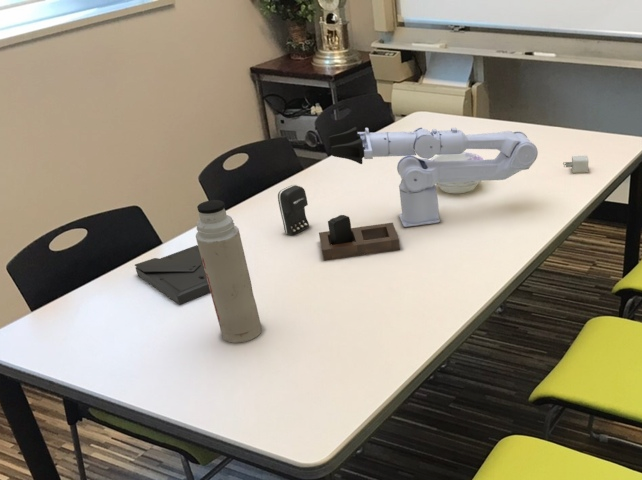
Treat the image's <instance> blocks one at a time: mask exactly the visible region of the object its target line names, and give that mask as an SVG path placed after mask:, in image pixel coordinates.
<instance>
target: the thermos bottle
mask: <svg viewBox="0 0 642 480" xmlns="http://www.w3.org/2000/svg"><path fill="white" fill-rule="evenodd" d="M225 208H226V203H225V202H224V201H222V200H220V199H211V200H206V201H203V202H201V203H199V204H198V205H197V211H198V218H199V220H198V221H197V222H196V231H197V232H196V233H195V239H196V243H197V244H196V245H198V247H199V251H200V255H201V259H202V262H203V266H204V270H205V274H206V277H207V281H208V285H209V288H210V296H211V300H212V304H213V306H214V310H215V314H216V318H217V322H218V326H219V329H220V334H221V336H222V339H223V340H225V341H226V342H229V343H235V344H236V343H245V342H249V341H252V340H253V339H255V338H257V337H258V336H260V334H261V333H262V331H263V330H262V329H263V328H262V324H261V320H260V315H259V311H258V306H257V302H256V299H255V296H254V291H253V286H252V280H251V277H250V272H249V268H248V263H247V258H246V255H245V251H244V246H243V241H242V237H241V233H240V228H239V227H238V226H237V225H235V223H234V219H233V217H232V216H230V215H228V214H227V211H226V209H225Z"/></svg>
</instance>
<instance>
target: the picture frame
mask: <svg viewBox="0 0 642 480" xmlns="http://www.w3.org/2000/svg"><path fill="white" fill-rule="evenodd" d="M134 266H135V272H136V275H137V277H139V278H141V279H142V280H143V281H145V282H146V283H148V284H149V285H151V286H152V287H154V288H155V289H157V290H158V291H159V292H161V293H162V294H163V295H165V296H166V297H168V298H169V299H171V300H172V301H173V302H175V303H176V304H178V305H183V304H185V303H189V302H190V301H193V300H195V299H197V298H200V297H203V296H205V295H208V294H211V292H210V288H209V285H208V281H207V277H206V274H205V270H204V266H203V262H202V259H201V255H200V251H199V247H198V244H196V245H193V246H190V247H188V248H185V249H182V250H179V251H177V252H174V253H171V254H169V255H165V256H162V257H161V258H159V257H154V258H151V259H147V260H144V261H141V262H138V263H135V264H134Z"/></svg>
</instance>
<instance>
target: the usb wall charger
mask: <svg viewBox="0 0 642 480" xmlns="http://www.w3.org/2000/svg"><path fill="white" fill-rule="evenodd" d="M562 164H563V168H571V171H572V174H584V173H588V172H589V156H588V155H572V156H571V161H564V162H563V163H562Z"/></svg>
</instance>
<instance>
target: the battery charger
mask: <svg viewBox="0 0 642 480" xmlns="http://www.w3.org/2000/svg"><path fill="white" fill-rule="evenodd" d="M277 201H278V206H279V211H280V216H281V220H282V224H283V230H284V233H285V234H286V235H292V236H293V235H294V236H295V235H298V234H300V233H302V232H304V231H305V230H307V229H308V228H309V227H310V223H309V221H308V219H307V216H306V210H305V208H306V207H307V206H308V198H307V193H306V190H305V189H304V188H303V186H300V185H297V184H291V185H289V186H286V187H285V188H282V189H280V190H279V192H278V194H277Z"/></svg>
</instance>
